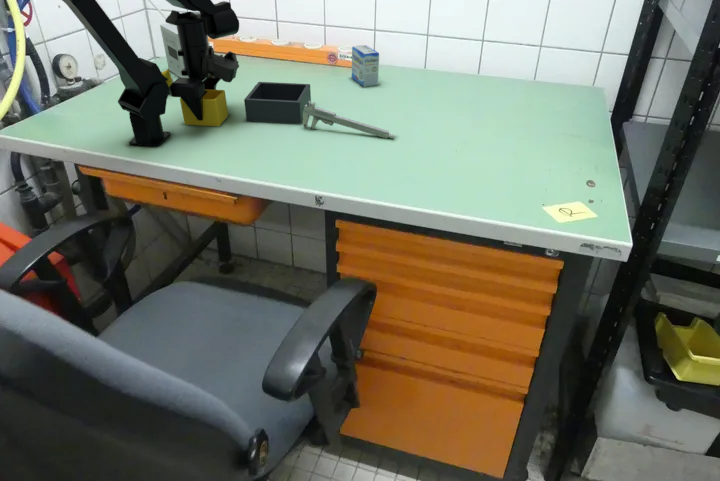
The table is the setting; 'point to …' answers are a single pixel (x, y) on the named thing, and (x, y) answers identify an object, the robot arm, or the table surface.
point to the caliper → (339, 121)
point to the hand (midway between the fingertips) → (205, 114)
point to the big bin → (277, 102)
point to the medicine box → (365, 65)
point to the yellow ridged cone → (167, 75)
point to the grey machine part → (173, 48)
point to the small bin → (208, 109)
